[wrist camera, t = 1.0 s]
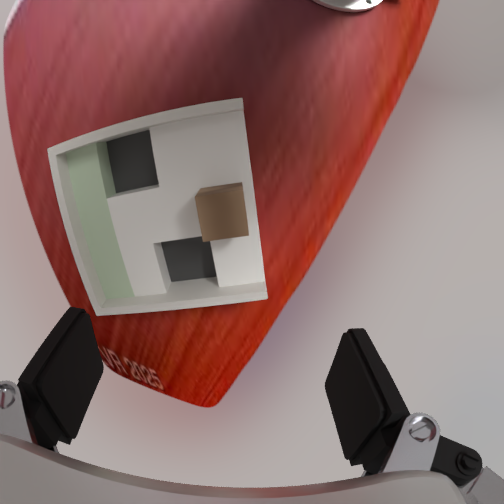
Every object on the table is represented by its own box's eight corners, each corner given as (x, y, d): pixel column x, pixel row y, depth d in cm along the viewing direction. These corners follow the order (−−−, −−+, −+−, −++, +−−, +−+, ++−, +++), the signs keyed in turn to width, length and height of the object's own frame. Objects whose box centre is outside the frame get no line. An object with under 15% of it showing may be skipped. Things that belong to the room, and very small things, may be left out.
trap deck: (241, 103, 27) (242, 97, 22) (263, 276, 34) (267, 298, 30) (70, 144, 27) (47, 148, 22) (110, 294, 35) (96, 315, 30)
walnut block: (242, 182, 27) (242, 189, 23) (247, 221, 29) (249, 235, 25) (200, 188, 27) (194, 197, 23) (207, 227, 29) (203, 242, 25)
